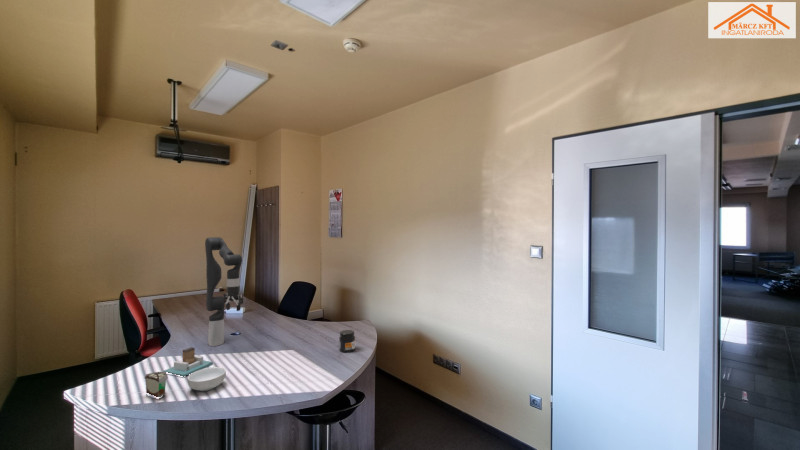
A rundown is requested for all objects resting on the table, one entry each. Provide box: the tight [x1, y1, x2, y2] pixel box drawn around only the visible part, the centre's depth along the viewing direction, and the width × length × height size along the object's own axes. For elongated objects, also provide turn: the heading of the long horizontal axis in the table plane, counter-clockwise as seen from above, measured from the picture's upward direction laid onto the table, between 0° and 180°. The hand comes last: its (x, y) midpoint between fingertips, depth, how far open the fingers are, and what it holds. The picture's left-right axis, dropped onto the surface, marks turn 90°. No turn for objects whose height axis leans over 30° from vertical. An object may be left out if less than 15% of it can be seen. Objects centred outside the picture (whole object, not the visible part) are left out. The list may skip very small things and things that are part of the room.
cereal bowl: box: [187, 366, 227, 392], centre depth 164 cm, size 17×17×7 cm
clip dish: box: [162, 355, 214, 378], centre depth 186 cm, size 16×18×6 cm
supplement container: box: [338, 329, 356, 354], centre depth 213 cm, size 10×10×12 cm
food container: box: [144, 371, 169, 397], centre depth 157 cm, size 12×6×10 cm, turn 65°
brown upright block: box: [182, 346, 196, 364], centre depth 187 cm, size 3×5×10 cm, turn 161°
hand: (233, 310), depth 209 cm, fingers open, 8 cm apart
